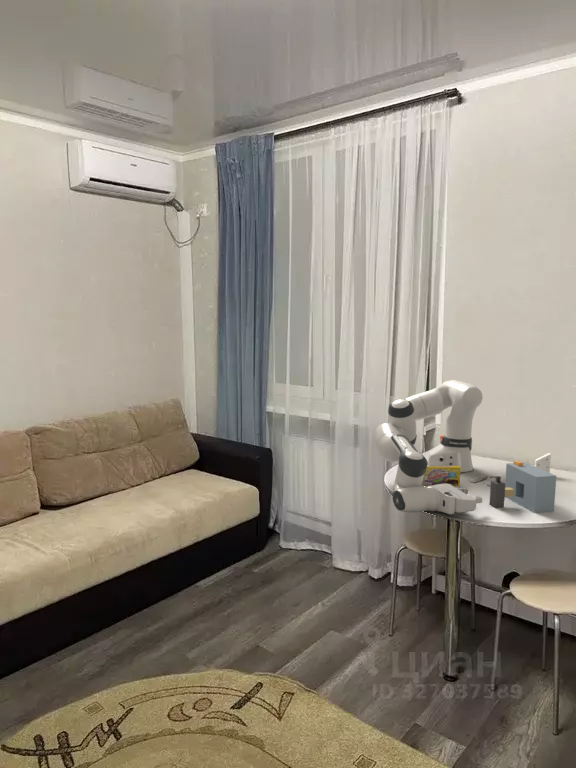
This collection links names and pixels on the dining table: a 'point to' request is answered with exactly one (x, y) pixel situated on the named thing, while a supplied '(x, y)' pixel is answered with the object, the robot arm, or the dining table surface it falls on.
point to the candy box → (442, 475)
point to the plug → (499, 493)
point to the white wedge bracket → (543, 462)
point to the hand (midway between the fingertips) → (474, 495)
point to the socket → (531, 486)
